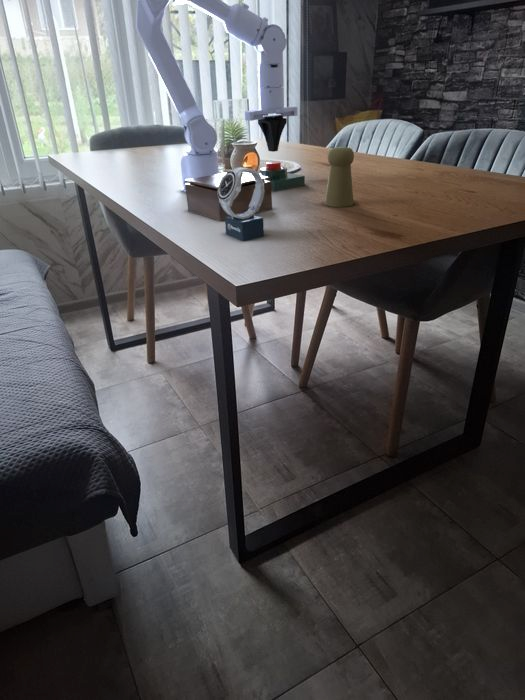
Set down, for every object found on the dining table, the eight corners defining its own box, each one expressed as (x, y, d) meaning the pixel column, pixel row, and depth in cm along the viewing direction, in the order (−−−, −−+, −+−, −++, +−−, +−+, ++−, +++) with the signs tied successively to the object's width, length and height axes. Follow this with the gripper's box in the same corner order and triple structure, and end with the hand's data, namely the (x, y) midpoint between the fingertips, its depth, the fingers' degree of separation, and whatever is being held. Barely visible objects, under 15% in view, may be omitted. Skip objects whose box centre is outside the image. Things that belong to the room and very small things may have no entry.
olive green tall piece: (352, 207, 98) (356, 149, 93) (323, 206, 100) (324, 149, 94) (354, 200, 104) (357, 145, 98) (325, 200, 105) (327, 145, 99)
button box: (243, 185, 123) (242, 168, 121) (273, 179, 128) (273, 163, 126) (274, 191, 115) (273, 173, 113) (304, 185, 120) (304, 168, 118)
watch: (216, 236, 84) (210, 169, 79) (254, 227, 88) (251, 163, 82) (233, 243, 80) (228, 173, 75) (272, 234, 84) (270, 167, 78)
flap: (235, 172, 105) (235, 170, 105) (270, 179, 97) (270, 177, 97) (211, 176, 102) (211, 174, 101) (245, 183, 93) (245, 181, 93)
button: (263, 170, 120) (263, 162, 119) (274, 168, 122) (274, 160, 121) (272, 171, 118) (272, 164, 117) (283, 169, 120) (283, 162, 119)
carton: (237, 200, 108) (235, 170, 105) (272, 209, 100) (271, 177, 97) (187, 211, 101) (184, 179, 98) (220, 221, 93) (217, 187, 90)
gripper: (257, 89, 104) (260, 156, 111) (306, 85, 112) (306, 148, 119) (238, 89, 109) (241, 153, 116) (286, 86, 117) (287, 146, 124)
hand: (273, 151), depth 118 cm, fingers closed
